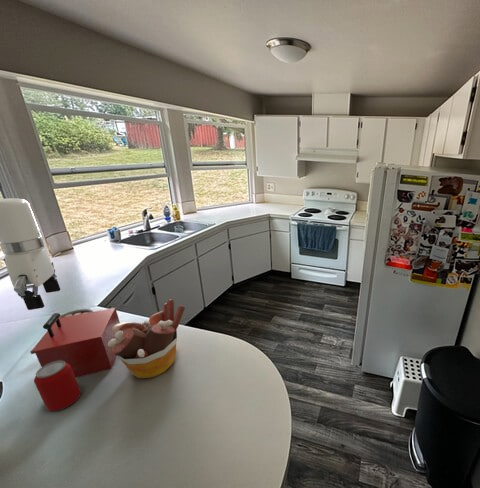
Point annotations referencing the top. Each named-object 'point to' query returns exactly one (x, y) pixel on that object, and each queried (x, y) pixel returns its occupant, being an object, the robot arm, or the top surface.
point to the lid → (73, 329)
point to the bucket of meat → (148, 342)
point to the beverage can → (57, 385)
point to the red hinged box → (85, 353)
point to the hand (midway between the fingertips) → (45, 299)
